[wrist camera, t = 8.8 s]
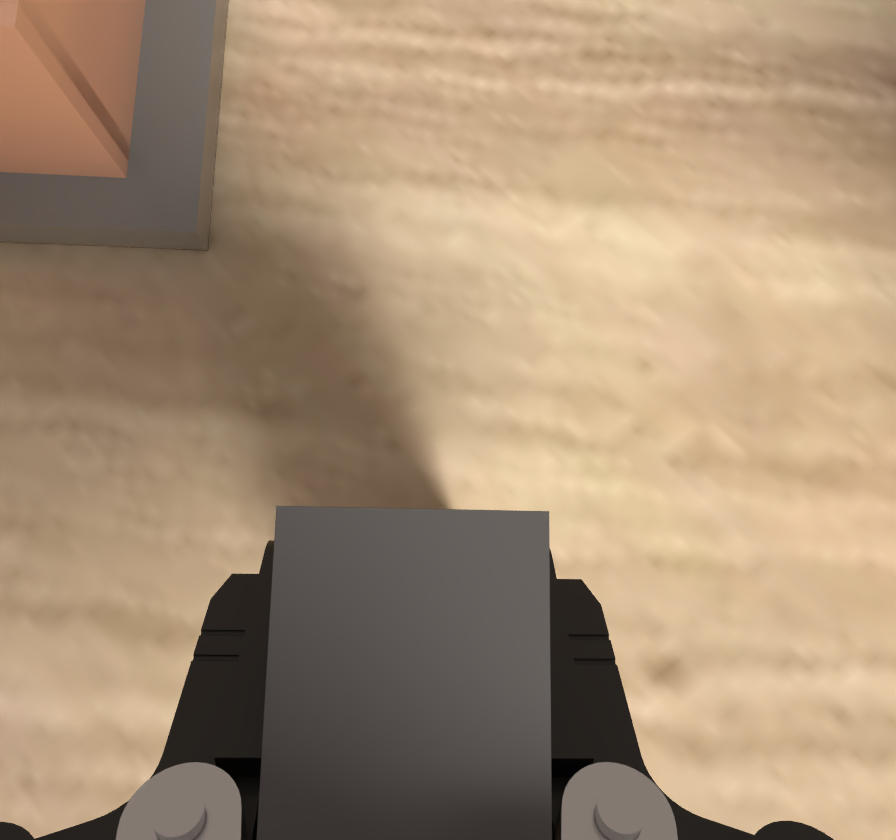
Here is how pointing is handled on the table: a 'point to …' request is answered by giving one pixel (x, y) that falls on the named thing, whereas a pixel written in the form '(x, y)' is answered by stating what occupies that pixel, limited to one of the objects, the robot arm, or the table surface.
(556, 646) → the robot arm
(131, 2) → the box
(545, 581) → the grey block
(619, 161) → the table surface
